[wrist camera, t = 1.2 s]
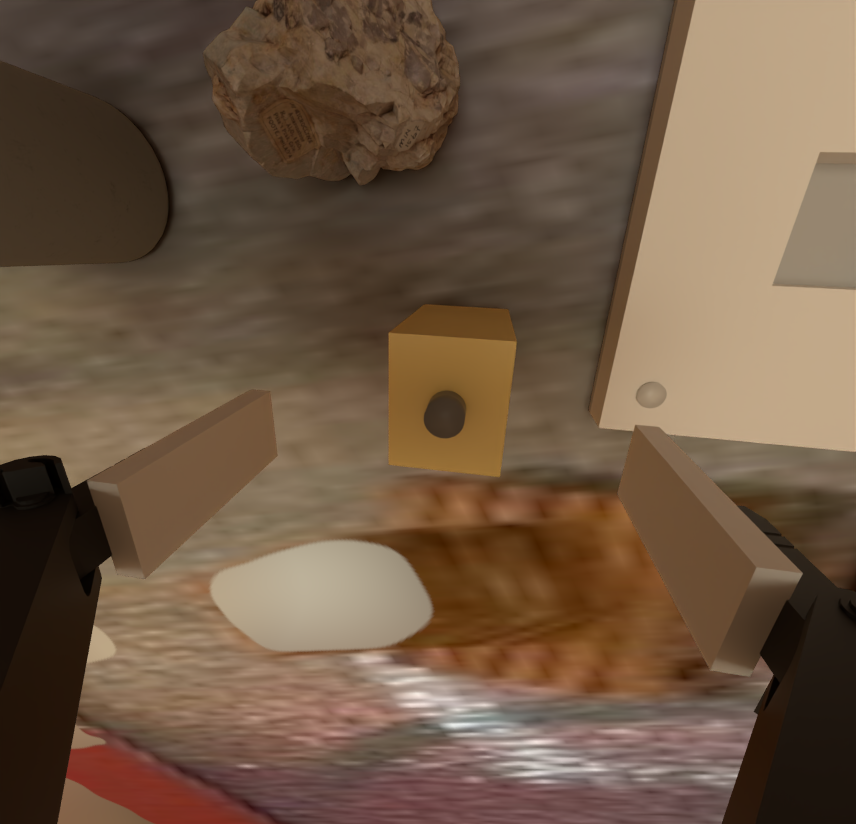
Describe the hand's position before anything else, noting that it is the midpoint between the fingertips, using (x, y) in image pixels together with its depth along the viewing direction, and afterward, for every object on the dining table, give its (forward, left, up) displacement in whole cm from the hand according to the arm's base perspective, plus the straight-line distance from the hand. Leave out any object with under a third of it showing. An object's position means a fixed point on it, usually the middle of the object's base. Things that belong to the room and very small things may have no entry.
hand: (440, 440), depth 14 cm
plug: (0, 0, -14) cm, 14 cm away
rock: (-13, -6, -15) cm, 21 cm away
